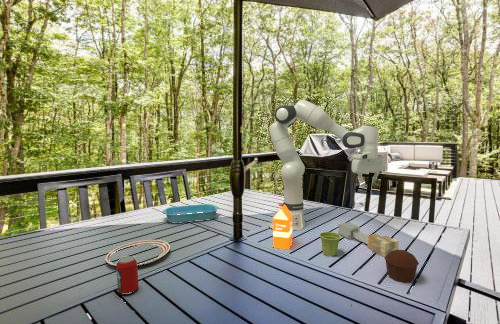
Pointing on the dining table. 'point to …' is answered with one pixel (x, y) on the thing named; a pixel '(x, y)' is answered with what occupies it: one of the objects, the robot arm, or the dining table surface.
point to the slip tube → (364, 237)
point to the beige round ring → (159, 243)
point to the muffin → (401, 266)
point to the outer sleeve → (347, 230)
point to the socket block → (384, 245)
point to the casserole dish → (207, 210)
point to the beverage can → (127, 274)
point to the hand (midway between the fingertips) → (368, 180)
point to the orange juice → (282, 229)
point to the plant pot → (330, 243)
